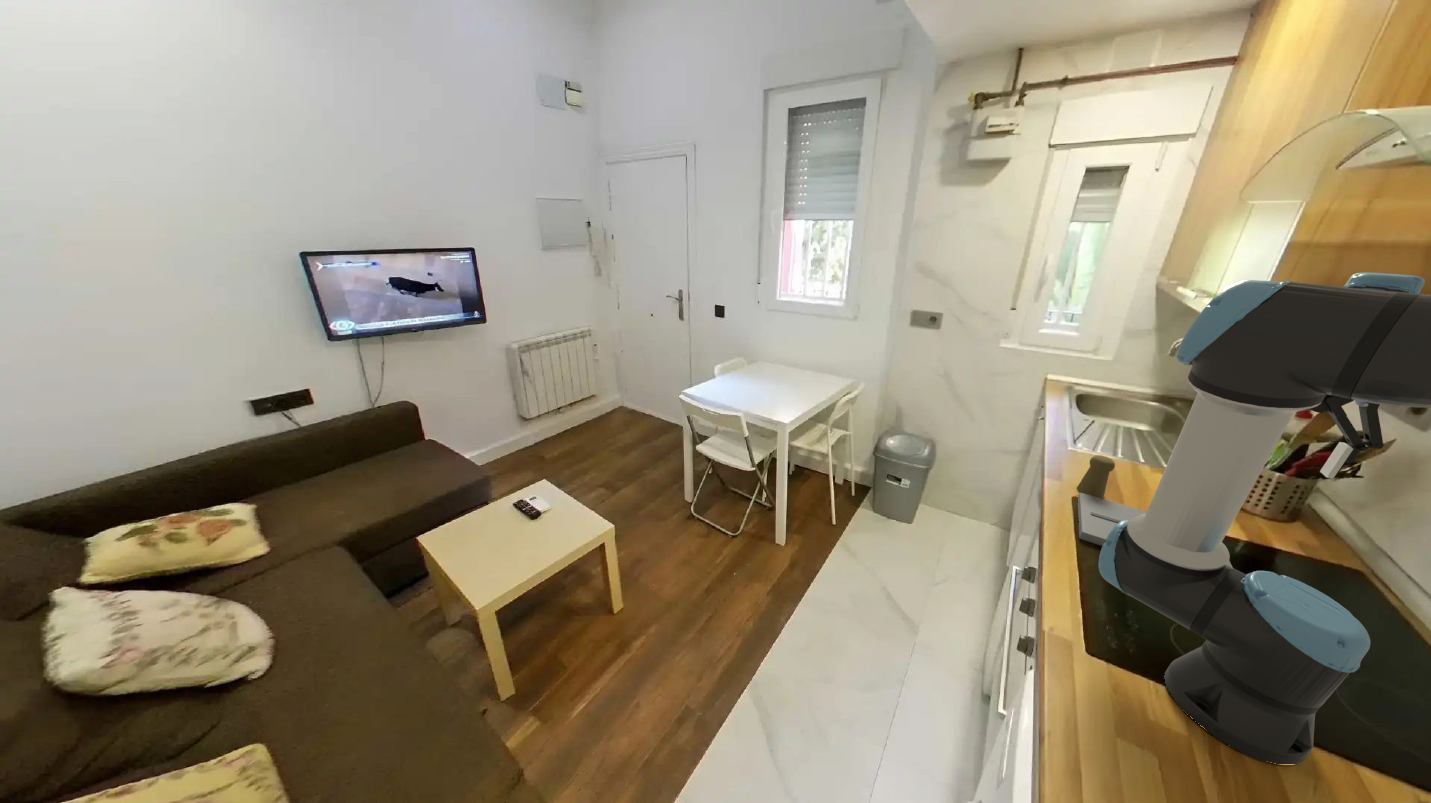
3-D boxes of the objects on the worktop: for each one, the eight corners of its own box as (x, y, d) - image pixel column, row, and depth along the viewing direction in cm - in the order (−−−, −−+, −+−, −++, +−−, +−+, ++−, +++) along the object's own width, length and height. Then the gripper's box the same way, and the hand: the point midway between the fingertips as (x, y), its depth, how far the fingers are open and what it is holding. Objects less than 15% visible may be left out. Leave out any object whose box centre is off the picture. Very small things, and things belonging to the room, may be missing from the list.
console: (1235, 589, 92) (1240, 581, 91) (1079, 538, 106) (1082, 530, 105) (1211, 537, 107) (1215, 529, 106) (1077, 498, 121) (1080, 491, 120)
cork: (1108, 499, 120) (1124, 465, 116) (1083, 496, 121) (1098, 462, 117) (1096, 487, 126) (1110, 453, 121) (1072, 484, 127) (1085, 451, 122)
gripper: (1436, 371, 76) (1361, 476, 84) (1230, 345, 89) (1183, 439, 97) (1468, 383, 70) (1385, 494, 79) (1244, 354, 83) (1192, 452, 91)
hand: (1273, 464), depth 88 cm, fingers open, 13 cm apart
